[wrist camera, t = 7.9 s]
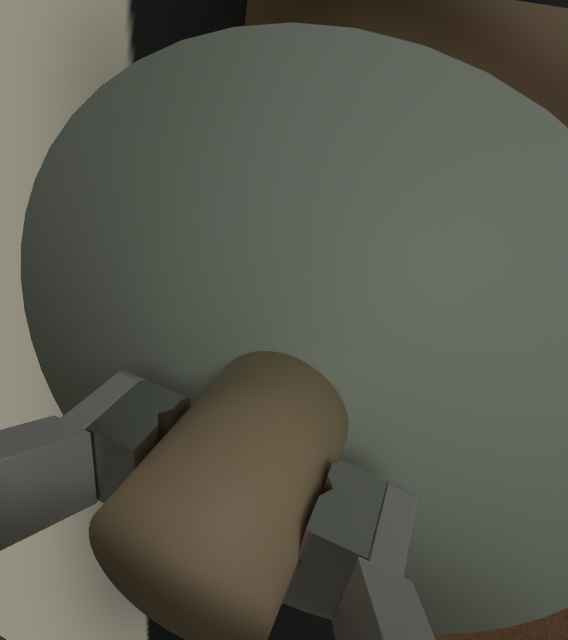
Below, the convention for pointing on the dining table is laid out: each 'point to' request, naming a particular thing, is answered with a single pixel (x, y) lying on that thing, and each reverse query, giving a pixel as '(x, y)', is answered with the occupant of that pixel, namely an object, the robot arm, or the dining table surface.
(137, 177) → the lid
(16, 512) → the robot arm
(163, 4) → the dining table surface
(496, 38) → the plate
